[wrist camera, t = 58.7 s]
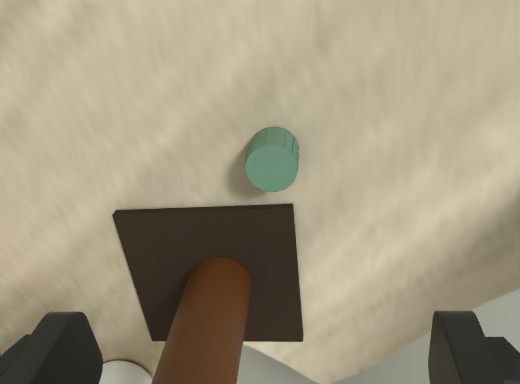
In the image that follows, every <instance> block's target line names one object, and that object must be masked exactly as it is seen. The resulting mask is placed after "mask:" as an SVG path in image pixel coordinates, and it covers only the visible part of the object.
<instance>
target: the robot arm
mask: <svg viewBox="0 0 520 384" xmlns="http://www.w3.org/2000/svg"><path fill="white" fill-rule="evenodd" d="M428 364H429V365H428V368H429V378H430V384H520V353H519V352H518V351H517V350H516V349H515V348H514V347H513V346H512V345H511V344H510V343H509V342H508V341H507V340H506V339H505V338H504V337H485V336H484V333H483V331H482V328H481V326H480V324H479V321H478V319H477V317H476V315H475V313H474V312H473V311H435V312H434V314H433V321H432V330H431V340H430V349H429V360H428ZM102 370H103V358H102V354H101V351H100V349H99V347H98V344H97V342H96V339H95V337H94V334H93V332H92V329H91V327H90V324H89V322H88V320H87V317H86V315H85V314H84V313H82V312H49V313H47V314H46V315H45V316H44V317H43V318H42V320H41V321H40V323H39V324H38V325H37V327H36V328H35V330H34V331H33V333H32V334H31V335H25V336H24V337H23V338H21V339H20V340H19V341H18V342H17V343H15V344H14V345H13V346H12V347H11V348H9V349H8V350H7V351H6V352H5V353H4V354H3V356H2V357H1V358H0V384H99V382H100V379H101V375H102Z"/></svg>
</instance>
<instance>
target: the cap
mask: <svg viewBox="0 0 520 384" xmlns="http://www.w3.org/2000/svg"><path fill="white" fill-rule="evenodd" d="M298 147H299V145H298V144H297V141H296V139H295V137H294V136H293V135H292V134H291V133H290V132H288V131H287V130H285V129H282V128H279V127H269V128H265V129H263V130H261V131H259V132H258V133H257V134H256V135H255V136H254V138H252V141H251V145H250V146H249V150H248V153H247V157H246V161H245V162H246V163H245V172H246V176H247V178H248V179H249V181H250V182H251V183H252V184H253V185H254V186H255V187H257V188H258V189H260V190H263V191H267V192H277V191H281V190H284V189H286V188H287V187H289V186H290V185H291V184H292V183H293V181H294V180H295V178H296V175H297V170H298V161H299V154H298Z"/></svg>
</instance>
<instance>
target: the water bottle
mask: <svg viewBox="0 0 520 384" xmlns="http://www.w3.org/2000/svg"><path fill="white" fill-rule="evenodd" d="M152 381H153V380H152V378H151V376H150V375H149V374H148V372H147V371H146V370H144V369H143V368H142V367H140V366H138V365H136V364H134V363H131V362H128V361H120V360H117V361H110V362H107V363H104V364H103V370H102V375H101V379H100V382H99V384H151V383H152Z"/></svg>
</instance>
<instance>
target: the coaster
mask: <svg viewBox="0 0 520 384" xmlns="http://www.w3.org/2000/svg"><path fill="white" fill-rule="evenodd" d="M113 218H114V221H115V224H116V228H117V231H118V234H119V237H120V240H121V244H122V247H123V250H124V253H125V256H126V259H127V263H128V266H129V269H130V272H131V275H132V278H133V282H134V285H135V288H136V291H137V294H138V298H139V301H140V304H141V307H142V310H143V313H144V317H145V320H146V323H147V326H148V329H149V332H150V336H151V339H152V341H167V338H168V335H169V332H170V329H171V326H172V323H173V321H174V318H175V315H176V312H177V309H178V306H179V303H180V300H181V298H182V295H183V292H184V289H185V286H186V283H187V280H188V278H189V275H190V272H191V270H192V268H193V267H194V266H195V265H196V264H197V263H198V262H200V261H202V260H204V259H207V258H211V257H222V258H227V259H230V260H233V261H235V262H237V263H239V264H240V265H241V266H243V267H244V268H245V269H246V270H247V272H248V273H249V275H250V277H251V280H252V290H251V296H250V302H249V308H248V314H247V320H246V327H245V333H244V339H243V341H274V342H303V327H302V314H301V301H300V288H299V275H298V262H297V249H296V237H295V224H294V211H293V204H276V205H249V206H222V207H194V208H167V209H140V210H116V211H115V212H114V214H113Z"/></svg>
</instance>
